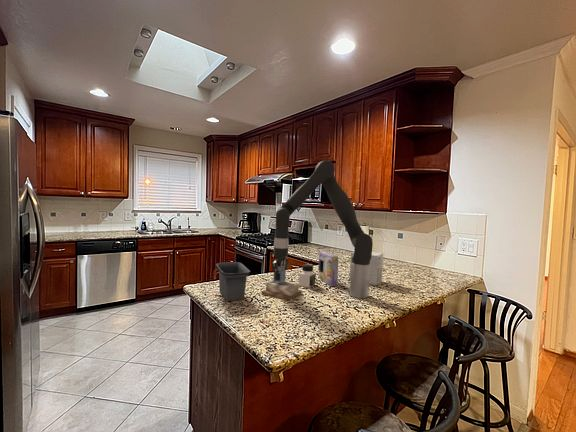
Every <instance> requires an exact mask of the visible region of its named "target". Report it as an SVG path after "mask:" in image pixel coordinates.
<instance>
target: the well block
mask: <svg viewBox="0 0 576 432" xmlns="http://www.w3.org/2000/svg"><path fill="white" fill-rule="evenodd" d="M273 281H274V279H272V280H270V281H267V282H266V283H265V284H266V286H265V289H263V290H262V291H261V295H264V296H268V297H273V298H277V299H281V300H283V301H289V302H290V301H291V300H293V299H294V298H296V297H298V296H300V295H302V293H303V290H302V289H299V288H300V287H299V286H300V285H299V283H297V282H296V283H295V282H291V281H286V280H285V285H290V286H291V287H289V286H284V285H279V284H274V283H273Z"/></svg>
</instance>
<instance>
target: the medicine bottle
mask: <svg viewBox="0 0 576 432" xmlns="http://www.w3.org/2000/svg"><path fill="white" fill-rule="evenodd" d="M301 270H302V272H299V273H298V284H299V286H301V287H305V288H309V289H310V288H312V287H313V286H316V277H317V276H316V274H317V273H316V272H314V266H313V264H309V263H304V264H303V265H302V269H301Z"/></svg>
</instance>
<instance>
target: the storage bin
mask: <svg viewBox="0 0 576 432" xmlns="http://www.w3.org/2000/svg"><path fill="white" fill-rule="evenodd" d="M215 266H216V269H214V271H213V279H214V280H216V279H217V275H218V280H219V281H218V282H219V283H218V284H219V291H220V292H221V294H222V296H223V297H224V299H225V301H227V302H234V301H235V302H237V301H243V300H244V299H245V294H246V285H247V278H248V277H249V276H250V272H251V270H249V268H247V266H245V265H244V264H243V263H242V262H238V261H230V262H228V261H227V262H219V263H218V262H217V263H216V264H215ZM217 271H218V272H217Z"/></svg>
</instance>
